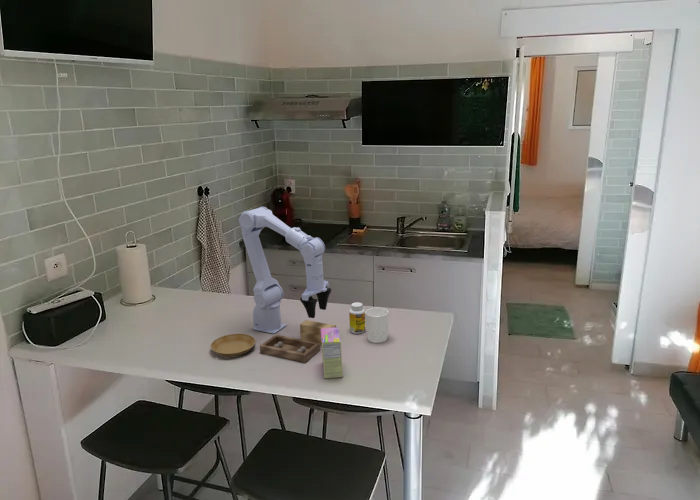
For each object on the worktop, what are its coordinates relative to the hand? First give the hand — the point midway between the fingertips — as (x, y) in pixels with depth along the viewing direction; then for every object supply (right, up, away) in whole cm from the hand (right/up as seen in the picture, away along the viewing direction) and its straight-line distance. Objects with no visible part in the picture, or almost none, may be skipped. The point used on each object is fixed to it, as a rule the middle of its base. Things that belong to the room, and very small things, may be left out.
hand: (317, 313), depth 182 cm
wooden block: (0, -10, +3) cm, 10 cm away
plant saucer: (-28, -12, -1) cm, 30 cm away
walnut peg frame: (-9, -12, -5) cm, 16 cm away
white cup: (+20, -9, +3) cm, 23 cm away
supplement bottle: (+14, -8, +9) cm, 18 cm away
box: (+6, -16, -17) cm, 24 cm away
